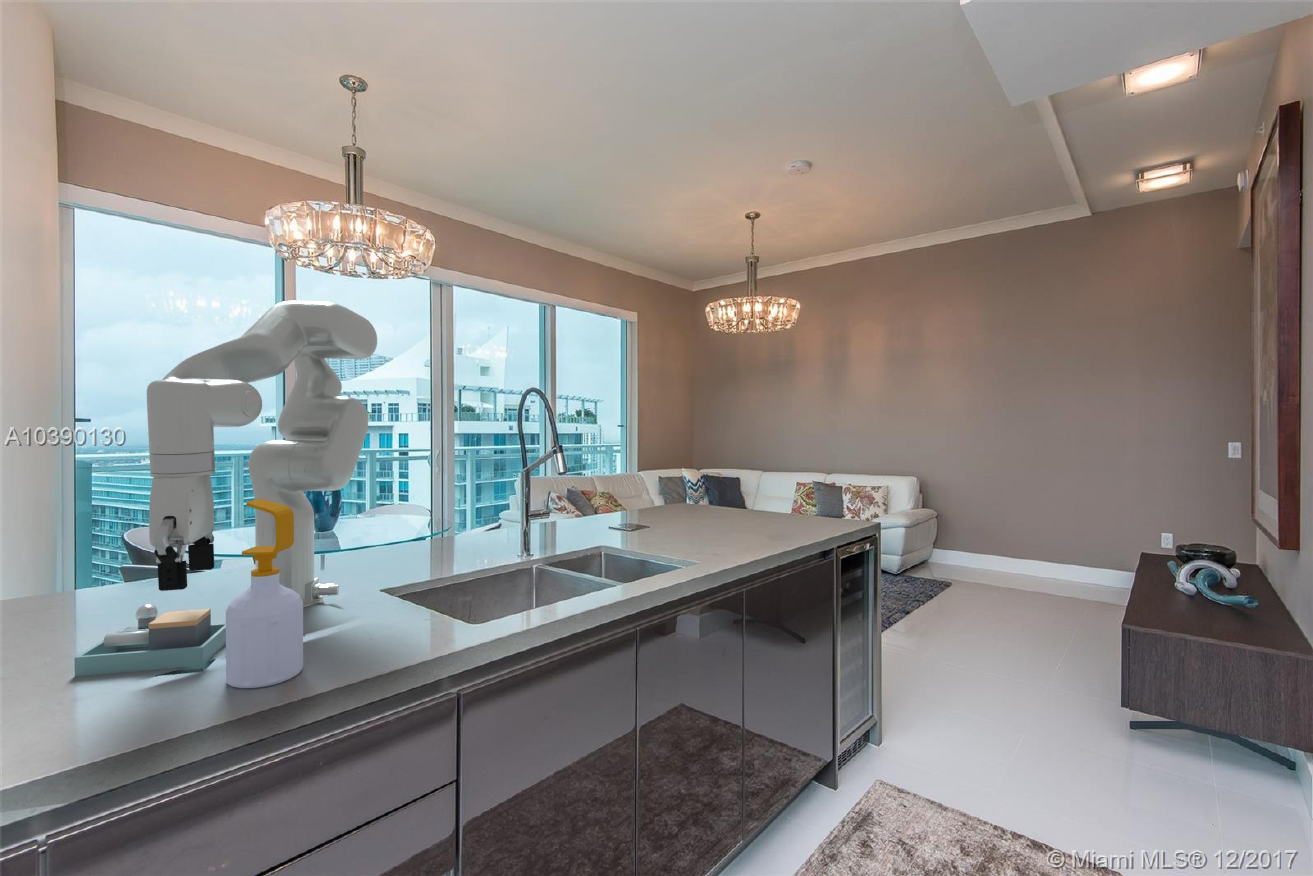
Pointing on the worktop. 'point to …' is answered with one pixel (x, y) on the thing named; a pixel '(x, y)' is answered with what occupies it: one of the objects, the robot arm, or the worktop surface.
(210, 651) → the bin
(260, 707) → the worktop surface
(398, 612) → the worktop surface
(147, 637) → the grey block with cylinder
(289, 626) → the soap bottle
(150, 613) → the grey piece
